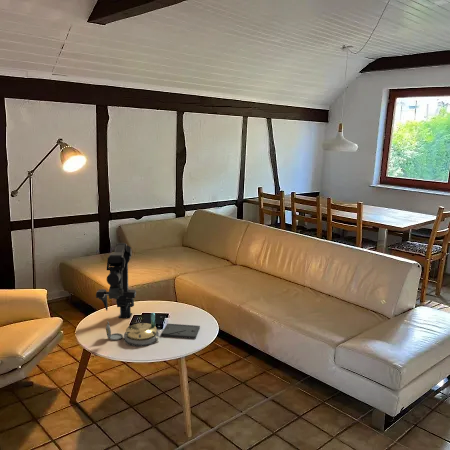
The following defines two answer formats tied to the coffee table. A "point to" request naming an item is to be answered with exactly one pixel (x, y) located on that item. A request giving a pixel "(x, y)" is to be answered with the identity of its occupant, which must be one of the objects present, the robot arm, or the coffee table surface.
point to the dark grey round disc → (141, 343)
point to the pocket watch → (112, 336)
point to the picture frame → (180, 331)
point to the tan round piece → (142, 330)
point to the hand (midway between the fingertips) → (116, 310)
